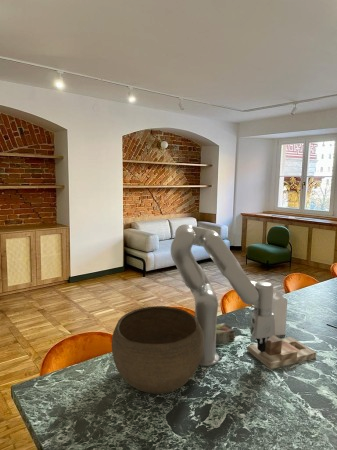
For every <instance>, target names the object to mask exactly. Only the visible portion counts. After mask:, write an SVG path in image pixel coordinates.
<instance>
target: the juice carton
mask: <svg viewBox="0 0 337 450" xmlns="http://www.w3.org/2000/svg"><path fill="white" fill-rule="evenodd" d="M235 339H236V333H235V329H234V328H232V326H231V325H228V324H226V323H223V322H222V323H216V345H217V344H223V343H226V342H227V343H228V342H231V341H235Z"/></svg>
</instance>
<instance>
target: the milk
mask: <svg viewBox="0 0 337 450" xmlns="http://www.w3.org/2000/svg"><path fill="white" fill-rule="evenodd" d="M272 313H273V314H274V319H275V334H274V335H275V336H276V337H278V336H285V335H286V331H287V330H286V327H287V326H286V325H287V313H288V299H287V297H284V296H283V293H282V292H280V290H277V289H276V292H275V293H273V306H272Z"/></svg>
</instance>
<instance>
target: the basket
mask: <svg viewBox="0 0 337 450" xmlns="http://www.w3.org/2000/svg"><path fill="white" fill-rule="evenodd" d="M111 337H112V338H111V354H112V357H113V361H114V365H115V368H116V370H117V372H118V374H119V375H120V376H121V377H122V378H123V380H124V381H125V382H126V383H127V384H129V385H130V386H132V387H133V388H135V389H137V390H139V391H142V392H144V393H148V394H153V395H154V394H156V395H157V394H159V395H160V394H167V393H171V392H174V391H176V390H178V389H180V388H181V387H183V386H184V385H186V383H188V382H189V381H190V380H191V379H192V377H193V376H194V374H195V373H196V371H197V369H198V368H199V366H200V365H199V363H200V360H201V358H202V355H203V346H204V337H203V331H202V328H201V326H200V324H199V323H198V320H197V318H196V317H195V315H193V314H191V313H190V312H188V311H187V310H186V309H185V310H184V309H181V308H177V307H171V306H166V305H156V306H155V305H154V306H153V305H152V306H146V307H140V308H137V309H133V310H131V311H129V312H127V313H125V314H124V315H122V316H121V317H120V318H119V319H118V321H117V323H116V325H115V327H114V330H113V332H112V336H111Z"/></svg>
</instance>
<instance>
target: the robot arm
mask: <svg viewBox="0 0 337 450" xmlns="http://www.w3.org/2000/svg"><path fill="white" fill-rule="evenodd" d="M174 234H175V235H174V238H173V240H172V242H171V244H170V245H171V246H170V256H171V259H172V261H173V263H174V265H175V266H176V268H177V271H178V273H179V274H180V276H181V279H182V280H183V283H184V284H185V286H186V287H187V288H188V289H189V291H190V292H191V294H192V296H193V297H194V298H193V299H194V306H195V307H194V316H195V317H196V318H197V320H198V323H199V324H200V326H201V328H202V331H203V337H204V346H203V355H202V358H201V360H200V363H199V365H198V366H201V367H211V366H215V365H216V364H217V363H219V361H220V355H218V353H217V352H216V350H217V349H216V347H217V344H216V324H218V323H217V322H218V321H217V319H218V311H219V310H218V309H219V299H218V296H217V294H216V292H215V289H214V287H213V285H212V284H211V282H210V280H209V278H208V276H207V275H206V273H205V271H204V269H203V268H202V266H201V265H200V264H198V262H197V260H196V258H195V256H194V255H193V253H192V247H193V246H197V247H203V249H204V251H205V252H206V254H207V255H208V256H209V257H210V259H211V260H212V261H213V263H214V264H215V266H216V267H217V269H218V270H219V271H220V273H221V275H222V276H223V277H224V278H225V279H226V281H227V282H228V283H229V285H230V286H231V287H232V288H233V290H234V292H235V293H236V294H237V296H238V298H239V299H240V300H241V302H242V303H244V304H245V305H248V306H252V305H254V306H253V309H252V310H251V311H252V315H251V319H250V320H251V321H250V329H249V330H250V335H251V336H250V339H251V340H252V341H257V344H258V347H257V348H258V350H259V351H261V352H265V344H266V342H267V340H268V338H269V337H271V336H273V335H274V334H275V319H274V314H273V313H272V306H273V295H274V285H273V284H272V283H271V282H269V281H252V280H251V279H250V278H249V276H248V275H247V274H246V273H245V270H244V269H243V268H242V266H241V264H240V262H239V260H238V259H237V258H236V256H235V255H234V254H233V252H232V251H231V250H230V248H229V246H228V245H227V243H226V242H225V241H224V239H223V238H222V237H221V236H220V234H219V233H218V232H217V231H215V230H213V229H209V228H205V227H201V226H196V225H191V224H181V225H179V226H178V227H177V228H176V229H175V232H174Z"/></svg>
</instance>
